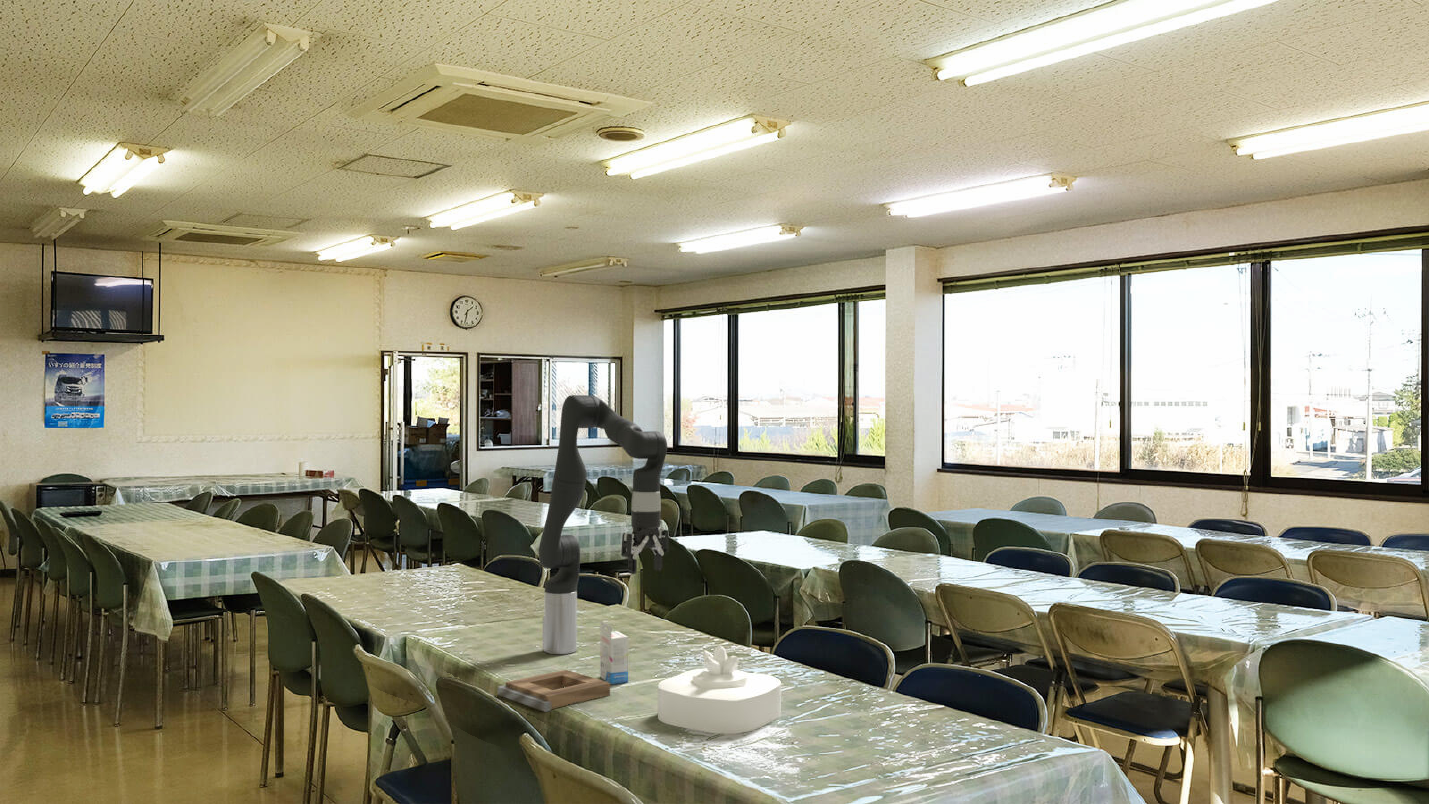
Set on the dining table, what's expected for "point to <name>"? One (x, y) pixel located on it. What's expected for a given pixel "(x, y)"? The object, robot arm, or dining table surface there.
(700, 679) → the tissue box
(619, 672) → the ink box
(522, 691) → the frame
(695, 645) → the dining table surface
